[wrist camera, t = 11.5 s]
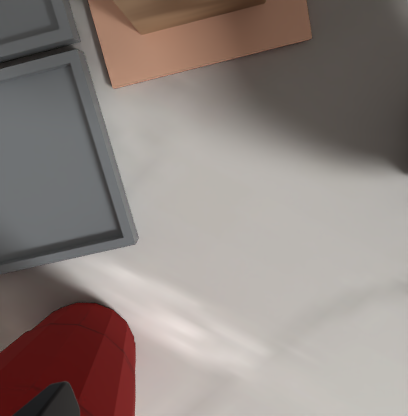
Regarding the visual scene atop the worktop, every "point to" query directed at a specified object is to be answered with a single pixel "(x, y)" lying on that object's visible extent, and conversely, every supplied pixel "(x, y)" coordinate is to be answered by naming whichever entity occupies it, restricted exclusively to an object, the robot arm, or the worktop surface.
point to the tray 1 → (35, 27)
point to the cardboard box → (176, 11)
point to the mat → (194, 39)
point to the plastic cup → (73, 361)
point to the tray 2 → (56, 167)
